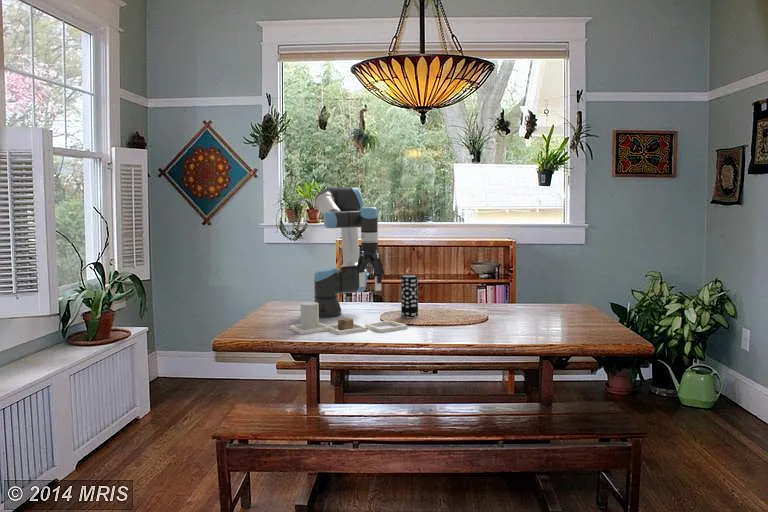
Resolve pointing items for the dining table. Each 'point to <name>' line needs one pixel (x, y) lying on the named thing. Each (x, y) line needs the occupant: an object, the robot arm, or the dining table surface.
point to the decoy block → (345, 324)
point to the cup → (309, 315)
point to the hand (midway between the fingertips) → (370, 288)
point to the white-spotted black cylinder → (409, 295)
